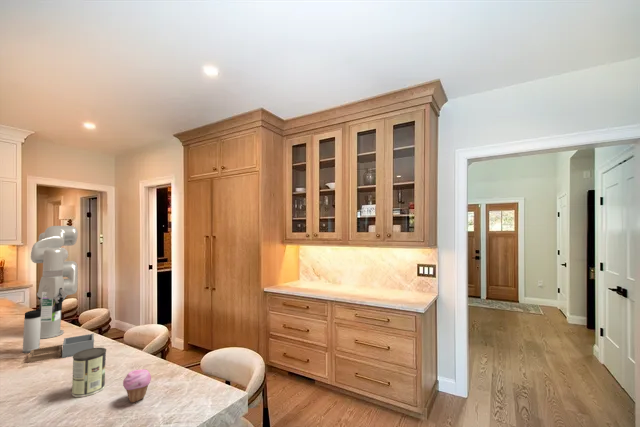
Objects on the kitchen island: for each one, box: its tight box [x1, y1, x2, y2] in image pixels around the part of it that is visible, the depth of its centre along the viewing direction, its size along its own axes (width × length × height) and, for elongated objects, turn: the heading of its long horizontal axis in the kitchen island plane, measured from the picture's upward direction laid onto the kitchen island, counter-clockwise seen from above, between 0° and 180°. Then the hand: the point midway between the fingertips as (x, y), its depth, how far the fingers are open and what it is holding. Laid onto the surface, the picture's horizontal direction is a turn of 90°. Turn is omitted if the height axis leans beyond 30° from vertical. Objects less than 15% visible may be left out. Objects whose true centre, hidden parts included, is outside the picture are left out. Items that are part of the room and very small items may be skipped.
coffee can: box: [71, 347, 107, 398], centre depth 118 cm, size 10×10×14 cm
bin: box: [61, 333, 95, 359], centre depth 155 cm, size 12×12×6 cm
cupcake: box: [122, 368, 152, 403], centre depth 112 cm, size 9×9×10 cm
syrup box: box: [40, 292, 60, 322], centre depth 151 cm, size 6×6×14 cm
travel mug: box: [22, 308, 41, 354], centre depth 156 cm, size 6×7×20 cm
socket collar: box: [27, 344, 63, 364], centre depth 149 cm, size 12×12×2 cm
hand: (51, 310), depth 151 cm, fingers closed on syrup box, 7 cm apart
